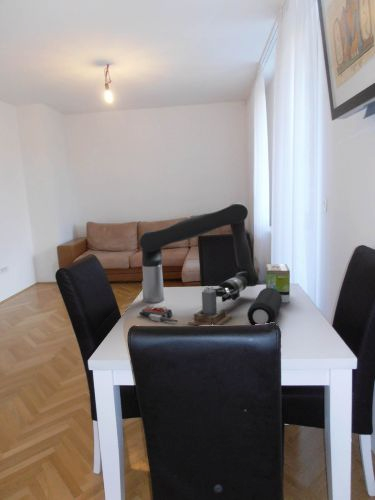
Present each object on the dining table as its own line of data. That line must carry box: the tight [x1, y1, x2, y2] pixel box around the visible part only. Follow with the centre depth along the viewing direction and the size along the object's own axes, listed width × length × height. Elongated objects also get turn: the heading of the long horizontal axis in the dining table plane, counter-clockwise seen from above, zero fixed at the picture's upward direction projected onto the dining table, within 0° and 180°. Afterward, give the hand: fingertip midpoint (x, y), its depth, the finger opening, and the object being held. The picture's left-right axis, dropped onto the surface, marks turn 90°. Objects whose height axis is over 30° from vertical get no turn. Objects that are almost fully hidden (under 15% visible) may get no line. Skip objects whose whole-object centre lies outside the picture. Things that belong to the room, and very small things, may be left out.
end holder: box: [187, 308, 232, 326], centre depth 138 cm, size 12×13×4 cm
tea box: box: [265, 263, 291, 303], centre depth 163 cm, size 15×10×15 cm, turn 170°
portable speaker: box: [247, 287, 283, 326], centre depth 137 cm, size 26×10×10 cm, turn 158°
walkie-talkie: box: [138, 305, 178, 323], centre depth 145 cm, size 9×4×20 cm
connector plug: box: [201, 285, 218, 316], centre depth 138 cm, size 4×4×13 cm
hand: (213, 298), depth 140 cm, fingers open, 8 cm apart
